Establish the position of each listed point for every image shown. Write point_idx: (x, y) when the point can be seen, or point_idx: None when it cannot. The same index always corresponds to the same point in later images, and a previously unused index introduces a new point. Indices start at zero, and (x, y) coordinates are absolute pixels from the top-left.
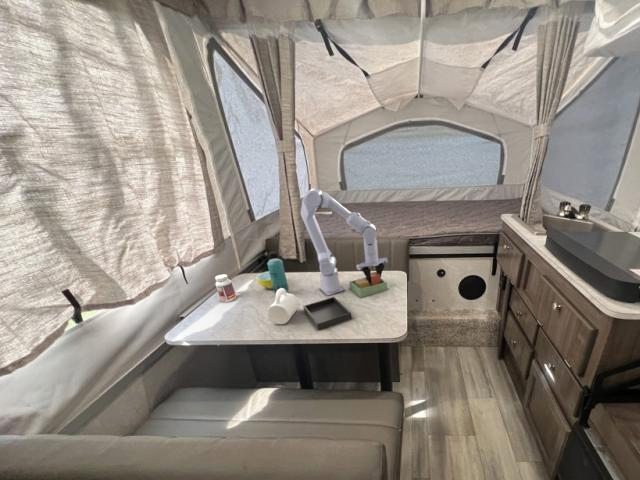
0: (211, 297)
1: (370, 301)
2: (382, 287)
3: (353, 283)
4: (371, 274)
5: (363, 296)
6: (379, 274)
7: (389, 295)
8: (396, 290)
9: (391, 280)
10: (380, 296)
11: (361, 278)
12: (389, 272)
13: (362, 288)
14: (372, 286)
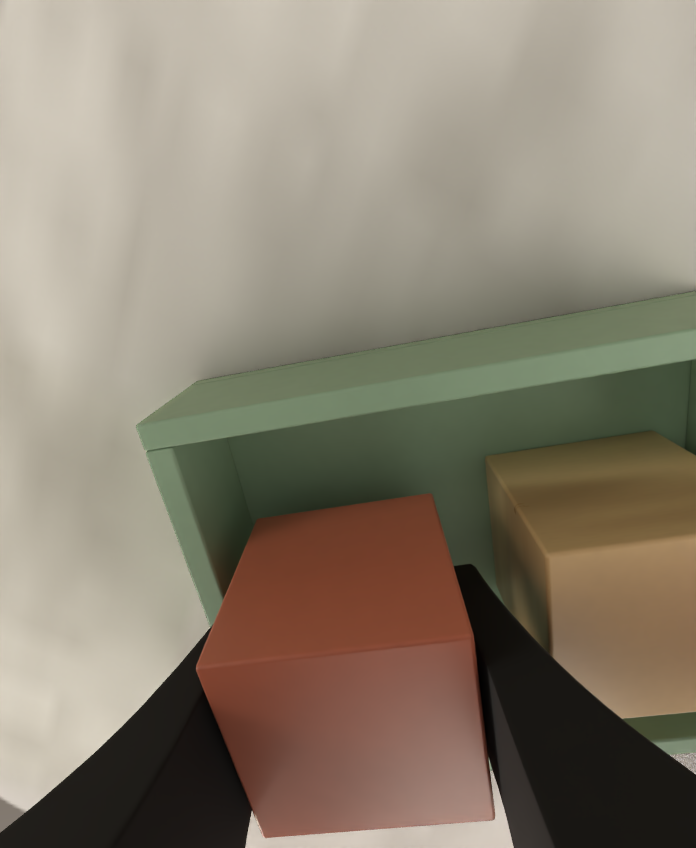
0: None
1: (648, 17)
2: (270, 378)
3: None
4: (409, 756)
5: (659, 299)
6: (211, 673)
7: (220, 112)
8: (56, 264)
9: (79, 615)
10: (388, 156)
11: None
12: None
13: (648, 465)
14: (502, 363)
